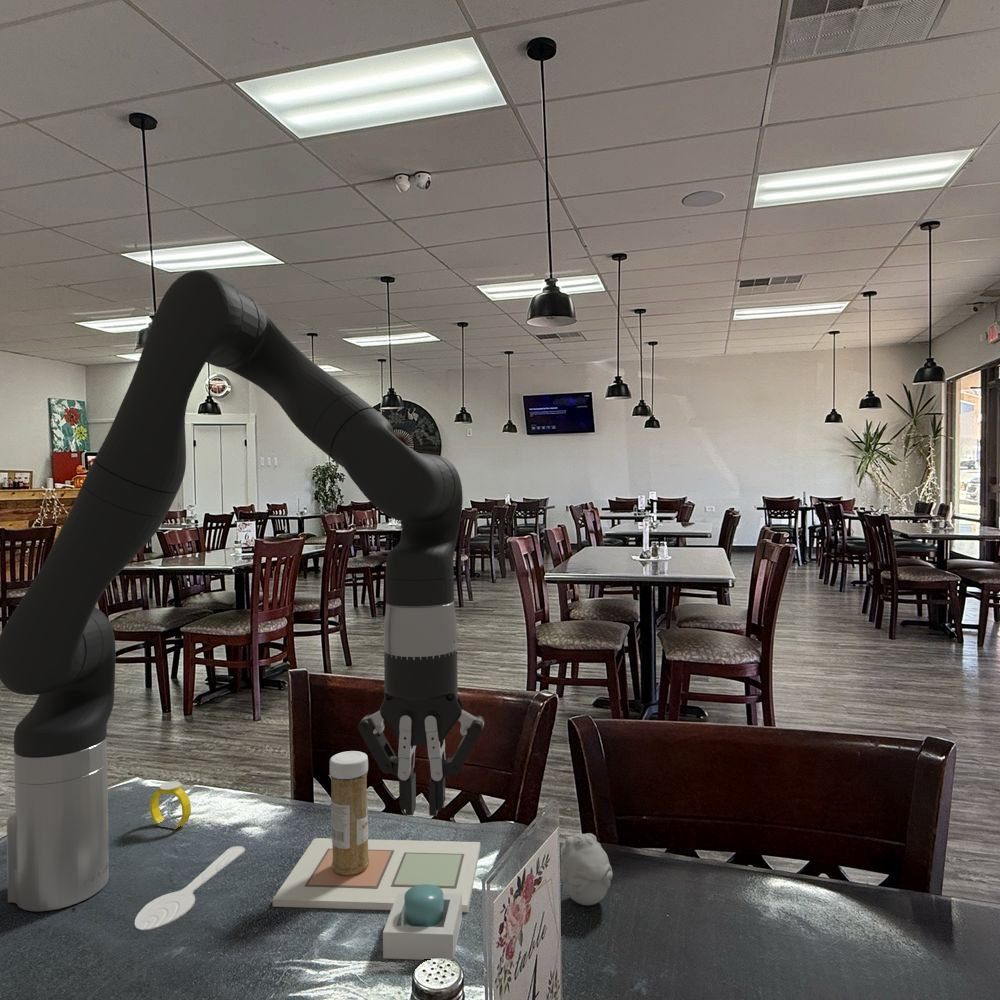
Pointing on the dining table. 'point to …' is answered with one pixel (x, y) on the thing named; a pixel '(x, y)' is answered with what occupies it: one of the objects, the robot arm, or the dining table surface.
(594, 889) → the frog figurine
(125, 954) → the dining table surface
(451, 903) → the button housing
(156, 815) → the watch
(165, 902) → the spoon
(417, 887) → the button
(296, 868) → the picture board
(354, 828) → the sprinkles bottle
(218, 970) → the dining table surface
